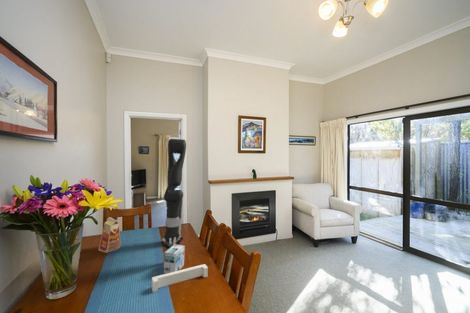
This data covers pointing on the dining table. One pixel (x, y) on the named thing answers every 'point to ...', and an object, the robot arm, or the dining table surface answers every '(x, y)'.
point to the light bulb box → (174, 258)
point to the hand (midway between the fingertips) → (171, 255)
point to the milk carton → (110, 236)
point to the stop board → (178, 276)
